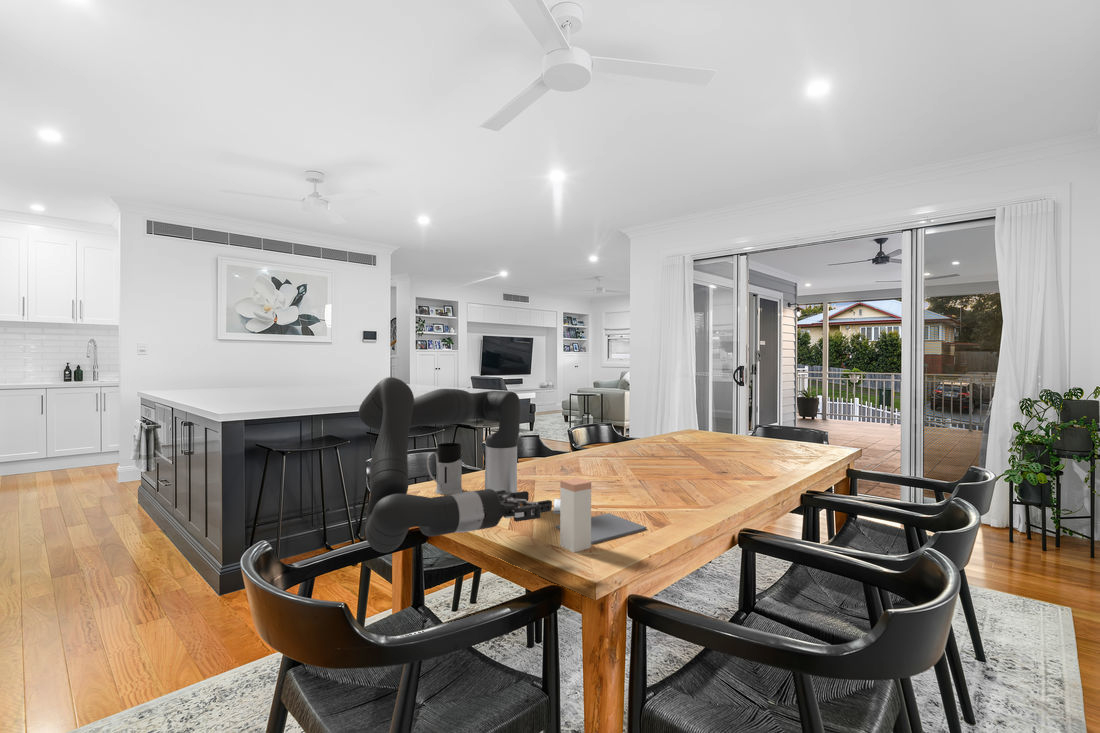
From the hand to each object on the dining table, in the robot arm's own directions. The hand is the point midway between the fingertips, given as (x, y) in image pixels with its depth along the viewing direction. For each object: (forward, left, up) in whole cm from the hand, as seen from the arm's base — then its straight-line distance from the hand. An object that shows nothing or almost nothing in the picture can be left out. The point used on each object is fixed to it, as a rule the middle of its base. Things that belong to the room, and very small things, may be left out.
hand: (539, 500), depth 110 cm
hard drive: (-25, +27, -13) cm, 39 cm away
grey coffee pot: (-60, +4, -13) cm, 62 cm away
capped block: (0, +10, -12) cm, 16 cm away
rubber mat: (-6, +23, -12) cm, 27 cm away
